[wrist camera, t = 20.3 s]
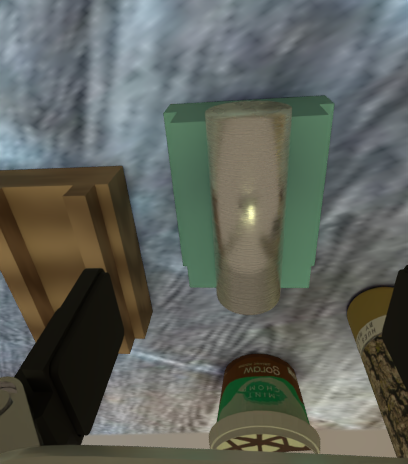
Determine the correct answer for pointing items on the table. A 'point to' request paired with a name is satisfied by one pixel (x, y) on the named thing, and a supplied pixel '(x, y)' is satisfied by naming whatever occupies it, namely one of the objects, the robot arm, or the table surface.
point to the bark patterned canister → (380, 363)
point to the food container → (262, 408)
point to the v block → (298, 186)
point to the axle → (248, 200)
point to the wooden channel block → (70, 242)
